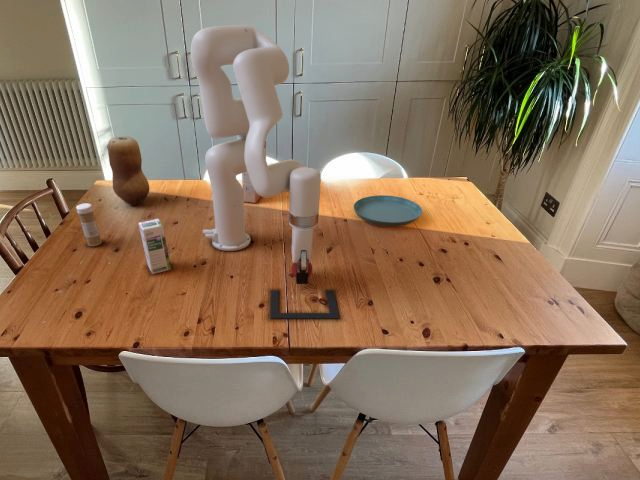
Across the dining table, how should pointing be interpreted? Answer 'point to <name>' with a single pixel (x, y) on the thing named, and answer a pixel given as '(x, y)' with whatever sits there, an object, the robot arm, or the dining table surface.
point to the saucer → (387, 210)
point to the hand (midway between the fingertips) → (301, 276)
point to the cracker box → (250, 186)
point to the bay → (331, 315)
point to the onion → (295, 266)
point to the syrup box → (155, 245)
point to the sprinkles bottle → (89, 224)
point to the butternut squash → (127, 170)
